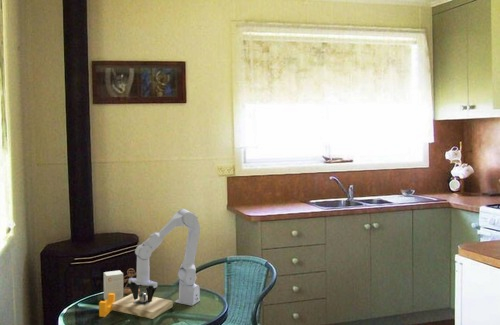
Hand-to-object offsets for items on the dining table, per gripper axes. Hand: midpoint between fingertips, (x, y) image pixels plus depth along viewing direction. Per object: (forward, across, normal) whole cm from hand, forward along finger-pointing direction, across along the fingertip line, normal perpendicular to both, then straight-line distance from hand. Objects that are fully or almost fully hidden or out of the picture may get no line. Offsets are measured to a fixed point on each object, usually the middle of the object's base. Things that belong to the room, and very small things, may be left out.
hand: (142, 300), depth 233 cm
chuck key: (+4, 0, 0) cm, 4 cm away
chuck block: (+4, 0, 0) cm, 4 cm away
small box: (+4, -19, +3) cm, 20 cm away
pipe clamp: (+4, -12, -11) cm, 17 cm away
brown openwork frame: (+4, -18, +15) cm, 24 cm away
